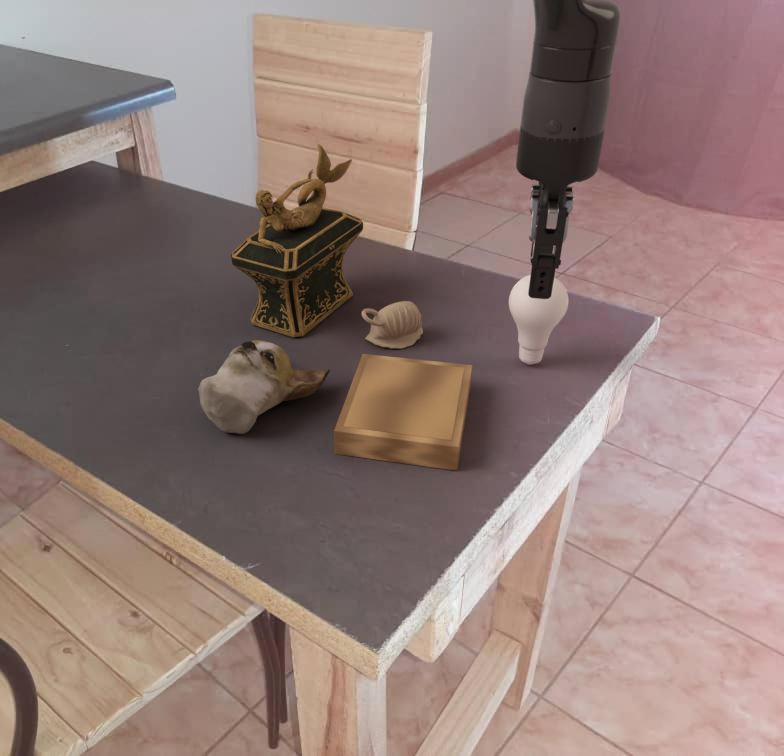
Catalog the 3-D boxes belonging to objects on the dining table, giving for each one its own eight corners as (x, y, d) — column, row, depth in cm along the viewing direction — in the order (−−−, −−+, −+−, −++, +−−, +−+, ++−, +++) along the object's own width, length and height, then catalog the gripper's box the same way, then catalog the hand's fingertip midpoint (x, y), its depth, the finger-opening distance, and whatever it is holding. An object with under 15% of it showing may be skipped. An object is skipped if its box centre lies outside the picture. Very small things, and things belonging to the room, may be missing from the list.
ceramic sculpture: (164, 355, 78) (256, 300, 88) (172, 426, 82) (259, 365, 92) (247, 389, 72) (335, 325, 82) (251, 462, 77) (334, 393, 87)
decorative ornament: (430, 342, 93) (433, 302, 90) (366, 357, 91) (366, 318, 88) (415, 326, 96) (417, 287, 93) (353, 340, 94) (352, 302, 91)
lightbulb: (491, 366, 88) (501, 280, 82) (517, 343, 91) (527, 258, 85) (543, 384, 84) (556, 295, 78) (567, 359, 88) (582, 272, 82)
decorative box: (297, 349, 94) (287, 192, 82) (235, 328, 98) (217, 178, 87) (380, 280, 106) (381, 137, 95) (321, 265, 111) (315, 127, 100)
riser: (470, 387, 85) (472, 364, 83) (457, 471, 74) (459, 446, 72) (362, 375, 88) (362, 353, 86) (334, 454, 77) (333, 430, 75)
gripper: (609, 149, 66) (579, 314, 75) (602, 101, 77) (576, 250, 86) (517, 146, 68) (499, 307, 77) (523, 100, 79) (506, 246, 88)
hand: (539, 277), depth 82 cm, fingers open, 8 cm apart
